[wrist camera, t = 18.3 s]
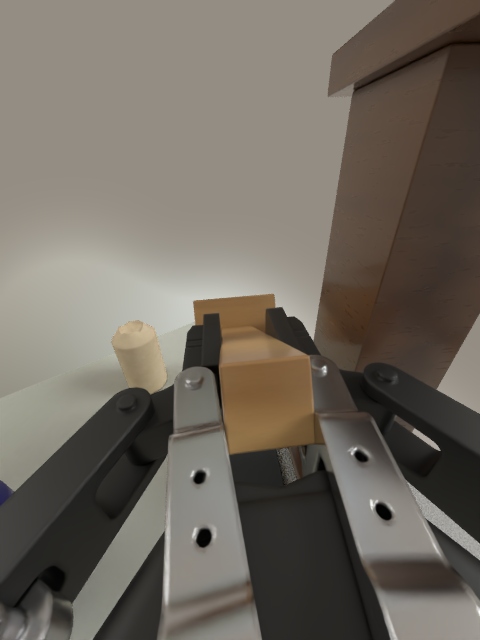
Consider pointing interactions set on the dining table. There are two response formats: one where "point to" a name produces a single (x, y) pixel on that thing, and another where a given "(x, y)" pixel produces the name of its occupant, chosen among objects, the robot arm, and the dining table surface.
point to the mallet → (259, 379)
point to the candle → (140, 356)
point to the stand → (405, 194)
